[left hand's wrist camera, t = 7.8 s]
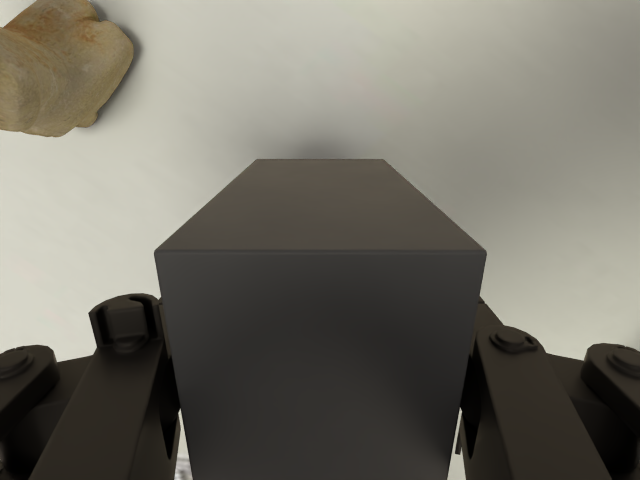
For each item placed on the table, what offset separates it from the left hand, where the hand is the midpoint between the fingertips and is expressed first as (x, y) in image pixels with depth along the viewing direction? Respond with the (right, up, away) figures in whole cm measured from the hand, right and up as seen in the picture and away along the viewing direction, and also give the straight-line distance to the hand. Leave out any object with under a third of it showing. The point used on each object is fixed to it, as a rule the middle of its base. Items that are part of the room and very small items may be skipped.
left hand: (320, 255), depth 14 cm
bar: (0, -8, +4) cm, 8 cm away
